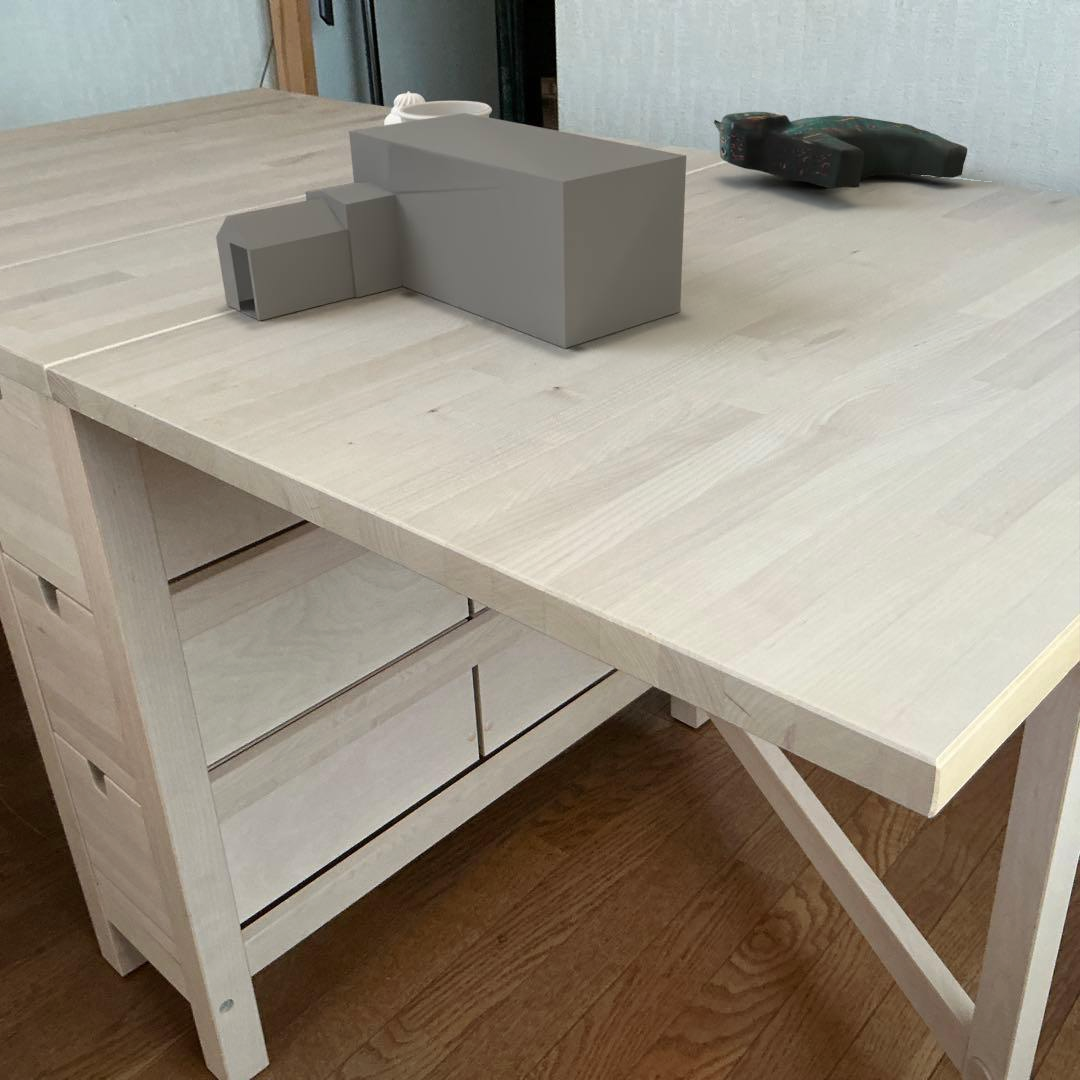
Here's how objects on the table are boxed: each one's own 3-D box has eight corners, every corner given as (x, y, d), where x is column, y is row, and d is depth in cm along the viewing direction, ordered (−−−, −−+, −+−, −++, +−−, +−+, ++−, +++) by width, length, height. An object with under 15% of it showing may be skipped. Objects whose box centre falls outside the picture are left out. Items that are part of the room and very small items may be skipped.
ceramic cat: (830, 139, 103) (692, 101, 118) (818, 212, 107) (684, 166, 121) (978, 129, 113) (833, 95, 128) (962, 196, 116) (822, 156, 131)
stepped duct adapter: (224, 303, 87) (200, 154, 82) (470, 245, 100) (464, 112, 95) (414, 396, 70) (399, 216, 65) (680, 311, 83) (686, 155, 78)
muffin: (391, 149, 138) (386, 87, 134) (442, 149, 137) (438, 86, 134) (383, 160, 132) (377, 95, 129) (436, 159, 132) (432, 94, 128)
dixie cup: (462, 237, 102) (455, 118, 98) (388, 226, 106) (378, 112, 101) (513, 216, 109) (509, 103, 104) (441, 206, 112) (434, 98, 108)
